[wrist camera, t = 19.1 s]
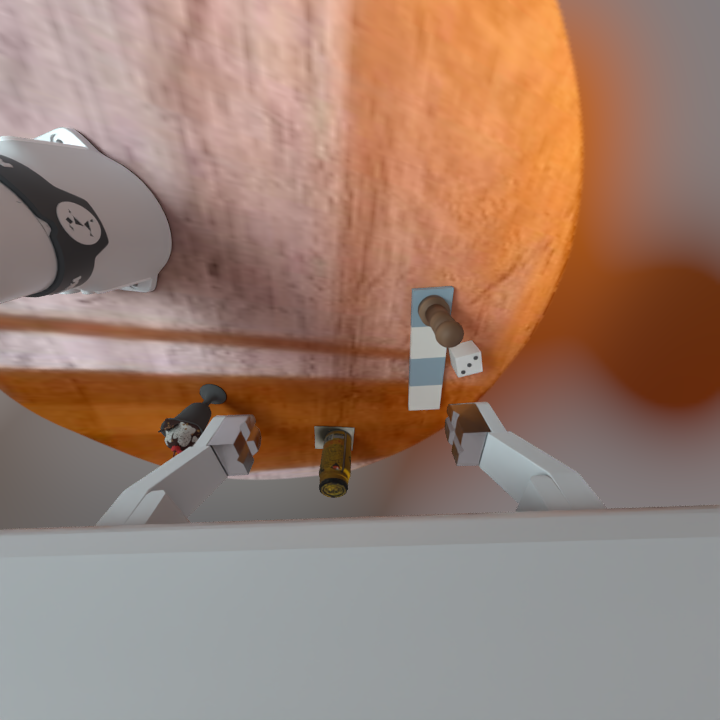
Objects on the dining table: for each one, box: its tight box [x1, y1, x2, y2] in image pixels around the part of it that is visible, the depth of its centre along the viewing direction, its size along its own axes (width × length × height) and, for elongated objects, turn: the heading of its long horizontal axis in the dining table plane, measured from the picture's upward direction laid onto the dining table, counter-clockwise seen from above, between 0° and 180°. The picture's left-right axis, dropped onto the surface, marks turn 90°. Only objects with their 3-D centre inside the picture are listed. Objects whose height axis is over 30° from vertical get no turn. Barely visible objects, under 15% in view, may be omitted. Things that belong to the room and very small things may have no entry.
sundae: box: [158, 384, 226, 458], centre depth 44 cm, size 7×7×15 cm
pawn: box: [418, 295, 464, 348], centre depth 35 cm, size 4×4×11 cm
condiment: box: [314, 426, 354, 498], centre depth 51 cm, size 7×8×12 cm
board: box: [408, 286, 454, 411], centre depth 45 cm, size 6×24×1 cm, turn 4°
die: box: [448, 340, 483, 378], centre depth 43 cm, size 4×4×4 cm
